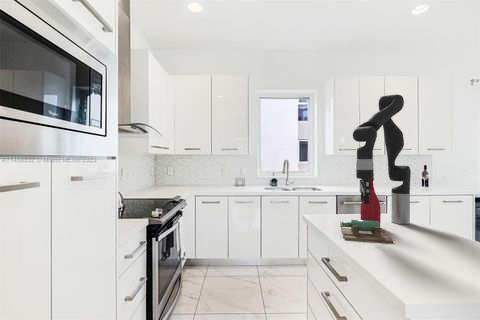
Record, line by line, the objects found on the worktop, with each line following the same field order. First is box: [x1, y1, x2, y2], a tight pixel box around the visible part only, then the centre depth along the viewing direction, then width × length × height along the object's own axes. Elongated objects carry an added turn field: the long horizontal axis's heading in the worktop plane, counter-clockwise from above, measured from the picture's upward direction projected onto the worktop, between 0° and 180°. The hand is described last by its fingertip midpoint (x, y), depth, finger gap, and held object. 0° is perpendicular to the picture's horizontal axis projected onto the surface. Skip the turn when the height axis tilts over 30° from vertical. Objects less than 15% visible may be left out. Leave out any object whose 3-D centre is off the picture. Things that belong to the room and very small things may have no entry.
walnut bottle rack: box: [340, 226, 394, 244], centre depth 131 cm, size 18×20×6 cm
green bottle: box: [339, 219, 381, 232], centre depth 132 cm, size 17×5×5 cm, turn 75°
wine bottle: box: [360, 177, 382, 224], centre depth 149 cm, size 10×10×30 cm
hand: (364, 202), depth 131 cm, fingers open, 8 cm apart
